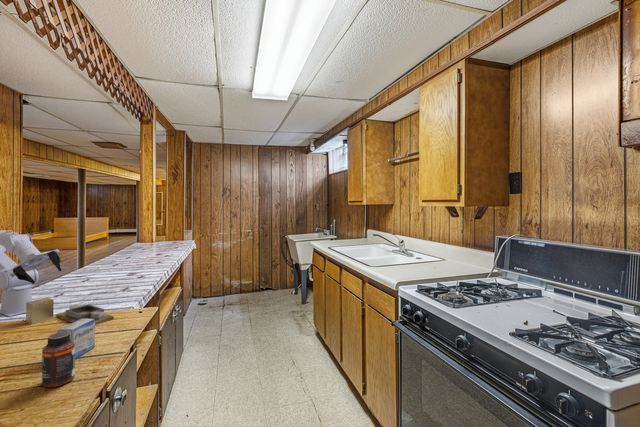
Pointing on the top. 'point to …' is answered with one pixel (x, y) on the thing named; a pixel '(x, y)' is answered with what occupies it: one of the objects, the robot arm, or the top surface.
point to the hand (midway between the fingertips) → (46, 275)
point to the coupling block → (39, 310)
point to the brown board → (85, 314)
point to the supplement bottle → (58, 360)
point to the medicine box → (81, 335)
